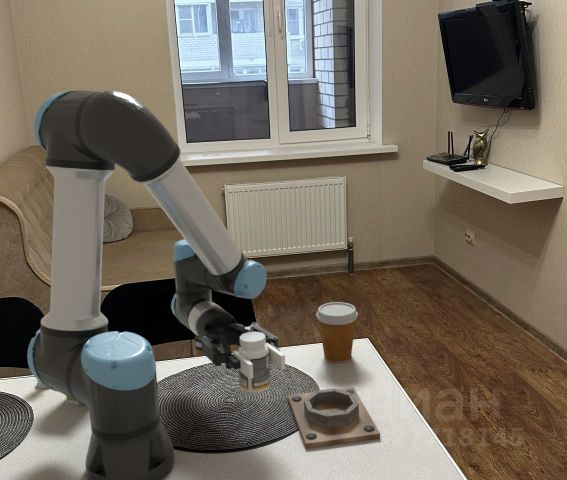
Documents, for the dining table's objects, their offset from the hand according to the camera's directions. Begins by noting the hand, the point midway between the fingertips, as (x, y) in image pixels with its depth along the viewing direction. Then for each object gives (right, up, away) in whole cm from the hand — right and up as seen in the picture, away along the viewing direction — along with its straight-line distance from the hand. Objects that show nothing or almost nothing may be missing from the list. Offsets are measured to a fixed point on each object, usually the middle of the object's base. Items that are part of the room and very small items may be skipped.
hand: (267, 366), depth 114 cm
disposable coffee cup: (+16, -6, +40) cm, 43 cm away
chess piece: (-50, -10, +32) cm, 60 cm away
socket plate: (+12, -13, +14) cm, 22 cm away
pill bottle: (-2, -5, +6) cm, 8 cm away
